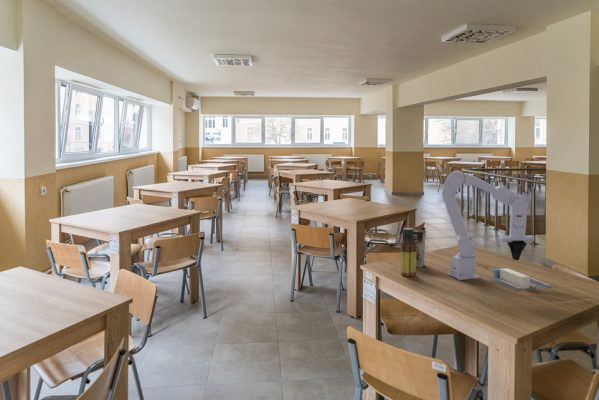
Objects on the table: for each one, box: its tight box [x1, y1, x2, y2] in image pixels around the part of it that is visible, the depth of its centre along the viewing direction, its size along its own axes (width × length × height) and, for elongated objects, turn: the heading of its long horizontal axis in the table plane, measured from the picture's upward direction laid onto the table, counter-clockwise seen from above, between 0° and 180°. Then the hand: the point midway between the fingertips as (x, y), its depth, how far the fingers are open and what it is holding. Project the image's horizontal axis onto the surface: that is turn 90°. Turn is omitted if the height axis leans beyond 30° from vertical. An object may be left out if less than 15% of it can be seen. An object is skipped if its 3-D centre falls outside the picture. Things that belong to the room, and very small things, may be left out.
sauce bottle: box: [400, 227, 417, 277], centre depth 189 cm, size 7×6×20 cm
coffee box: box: [402, 228, 427, 268], centre depth 205 cm, size 9×6×16 cm
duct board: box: [488, 267, 557, 292], centre depth 178 cm, size 18×16×4 cm
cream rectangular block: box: [499, 267, 531, 289], centre depth 177 cm, size 4×12×4 cm, turn 15°
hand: (515, 259), depth 180 cm, fingers closed
